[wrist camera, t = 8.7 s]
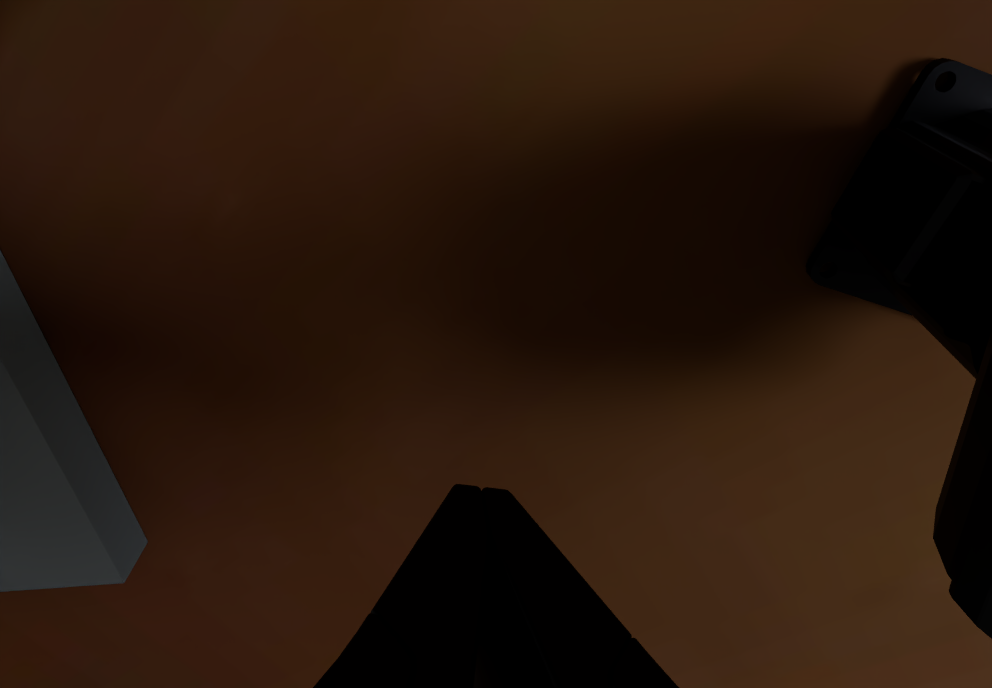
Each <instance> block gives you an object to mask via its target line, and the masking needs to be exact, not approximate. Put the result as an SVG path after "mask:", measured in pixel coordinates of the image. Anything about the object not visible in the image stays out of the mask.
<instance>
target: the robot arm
mask: <svg viewBox="0 0 992 688" xmlns="http://www.w3.org/2000/svg"><path fill="white" fill-rule="evenodd" d="M946 71H947V72H948V79H947V82H946V83H945V84H944V85H943V86H942V87H940V88H938V89H936V87H935V82H936V79H937V78H938V77H939V76H940V74H942V73H944V72H946ZM831 215H832V221H831V222H830V224H829V226H828V227H827V229H826V231H825V232H824V234H823V236H822V237H821V239H820V241H819V242H818V244H817V246H816V247H815V249H814V251H813V252H812V254H811V256H810V257H809V259H808V262H807V264H806V271H807V273H808V275H809V276H810V277H811V279H812V280H813V281H814V282H815V283H817V284H819V285H821V286H824V287H827V288H830V289H833V290H837V291H840V292H843V293H846V294H849V295H852V296H855V297H858V298H861V299H864V300H867V301H870V302H873V303H876V304H880V305H883V306H886V307H889V308H892V309H895V310H898V311H901V312H904V313H907V314H910V315H913V316H914V317H915V318H916V319H917V320H918V321H919V322H920V323H921V324H922V325H923V326H924V327H925V328H926V329H927V330H928V331H929V332H930V333H931V334H932V335H933V336H934V337H935V338H936V339H937V340H938V341H939V342H940V343H941V344H942V345H943V346H944V347H945V348H946V349H947V350H948V351H949V352H950V353H951V354H952V355H953V356H954V357H955V358H956V359H957V360H958V361H959V362H960V363H961V364H962V365H963V366H964V367H965V368H966V369H967V370H968V371H969V372H970V373H971V374H972V375H973V377H974V378H975V379H976V381H975V385H974V388H973V391H972V394H971V398H970V401H969V404H968V407H967V410H966V414H965V417H964V420H963V423H962V426H961V430H960V433H959V436H958V439H957V442H956V446H955V449H954V452H953V455H952V458H951V462H950V465H949V468H948V471H947V474H946V478H945V481H944V484H943V487H942V490H941V494H940V497H939V500H938V503H937V506H936V512H935V523H934V533H933V539H934V542H935V544H936V547H937V549H938V552H939V554H940V557H941V559H942V562H943V564H944V567H945V569H946V572H947V574H948V576H949V577H950V578H951V580H952V581H951V584H950V588H949V593H950V595H951V597H952V598H953V600H954V601H955V602H956V603H957V604H958V605H959V606H960V608H961V609H962V610H963V611H964V612H965V613H966V615H967V616H968V617H969V618H970V619H971V620H972V621H973V623H974V624H975V625H976V626H977V627H978V628H979V629H981V630H982V631H983V632H984V633H985V634H987V635H988V636H989V637H990V638H992V75H991V74H988V73H985V72H983V71H980V70H978V69H975V68H973V67H970V66H967V65H965V64H962V63H960V62H957V61H954V60H951V59H946V58H941V59H937V60H934V61H932V62H931V63H929V64H928V65H926V67H925V68H924V69H923V70H922V71H921V73H920V74H919V76H918V78H917V79H916V81H915V83H914V84H913V86H912V88H911V89H910V91H909V93H908V94H907V96H906V98H905V99H904V101H903V103H902V104H901V106H900V108H899V109H898V111H897V113H896V114H895V116H894V118H893V119H892V121H891V123H890V124H889V126H888V128H886V129H884V130H883V131H881V132H879V134H878V135H877V137H876V138H875V140H874V142H873V144H872V145H871V147H870V149H869V150H868V152H867V154H866V155H865V157H864V159H863V160H862V162H861V164H860V165H859V167H858V169H857V170H856V172H855V174H854V175H853V177H852V179H851V180H850V182H849V184H848V185H847V187H846V189H845V190H844V192H843V194H842V195H841V197H840V199H839V200H838V202H837V204H836V205H835V207H834V209H833V210H832V213H831ZM828 262H832V266H831V268H830V269H829V270H828V271H825V272H819V271H820V268H821V267H822V266H823V265H824V264H825V263H828ZM473 687H474V688H679V687H678V686H677V685H676V684H675V683H674V682H673V680H672V679H671V678H670V677H669V676H668V675H667V674H666V673H665V672H664V670H663V669H662V668H661V667H660V666H659V665H658V664H657V663H656V662H655V660H654V659H653V658H652V657H651V656H650V655H649V654H648V652H647V651H646V650H645V649H644V648H643V647H642V645H641V644H640V643H639V642H638V641H637V639H635V638H632V636H631V634H630V633H629V631H628V630H627V629H626V628H625V627H624V625H623V624H622V623H621V622H620V621H619V620H618V618H617V617H616V616H615V615H614V614H613V613H612V611H611V610H610V609H609V608H608V607H607V605H606V604H605V603H604V602H603V601H602V600H601V598H600V597H599V596H598V595H597V594H596V592H595V591H594V590H593V589H592V588H591V587H590V585H589V584H588V583H587V582H586V581H585V580H584V578H583V577H582V576H581V575H580V574H579V572H578V571H577V570H576V569H575V568H574V567H573V565H572V564H571V563H570V562H569V561H568V560H567V558H566V557H565V556H564V555H563V554H562V552H561V551H560V550H559V549H558V548H557V547H556V545H555V544H554V543H553V542H552V541H551V540H550V538H549V537H548V536H547V535H546V534H545V532H544V531H543V530H542V529H541V528H540V527H539V525H538V524H537V523H536V522H535V521H534V520H533V518H532V517H531V516H530V515H529V514H528V512H527V511H526V510H525V509H524V508H523V507H522V505H521V504H520V503H519V502H518V501H517V500H516V498H515V497H514V496H513V495H512V494H511V493H510V492H509V491H508V490H505V489H496V488H488V487H486V488H483V489H482V491H481V489H480V488H479V487H477V486H471V485H462V484H456V485H454V486H453V487H452V489H451V490H450V492H449V493H448V495H447V496H446V498H445V499H444V501H443V502H442V504H441V505H440V507H439V508H438V510H437V511H436V513H435V515H434V516H433V518H432V519H431V521H430V522H429V524H428V525H427V527H426V528H425V530H424V531H423V533H422V534H421V536H420V537H419V539H418V540H417V542H416V544H415V545H414V547H413V548H412V550H411V551H410V553H409V554H408V556H407V557H406V559H405V560H404V562H403V563H402V565H401V566H400V568H399V569H398V571H397V573H396V574H395V576H394V577H393V579H392V580H391V582H390V583H389V585H388V586H387V588H386V589H385V591H384V592H383V594H382V595H381V597H380V599H379V600H378V602H377V603H376V605H375V606H374V608H373V609H372V611H371V613H370V614H368V616H367V617H366V619H365V620H364V622H363V623H362V625H361V626H360V628H359V629H358V631H357V632H356V634H355V635H354V637H353V638H352V639H351V641H350V642H349V643H348V645H347V646H346V648H345V649H344V650H343V652H342V653H341V655H340V656H339V657H338V659H337V660H336V661H335V662H334V663H333V664H332V666H331V667H330V668H329V669H328V670H327V672H326V673H325V674H324V675H323V676H322V678H321V679H320V680H319V681H318V682H317V683H316V685H315V686H314V687H313V688H473Z"/></svg>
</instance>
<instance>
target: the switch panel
mask: <svg viewBox="0 0 992 688" xmlns="http://www.w3.org/2000/svg"><path fill="white" fill-rule="evenodd" d="M147 542H148V541H147V539H146V537H145V535H144V533H143V531H142V529H141V527H140V525H139V523H138V521H137V519H136V517H135V515H134V513H133V512H132V510H131V508H130V506H129V504H128V502H127V500H126V498H125V496H124V494H123V492H122V490H121V488H120V486H119V484H118V482H117V480H116V478H115V476H114V474H113V472H112V470H111V468H110V466H109V464H108V462H107V460H106V458H105V456H104V454H103V452H102V450H101V448H100V446H99V444H98V442H97V440H96V438H95V436H94V434H93V432H92V430H91V428H90V427H89V425H88V423H87V421H86V419H85V417H84V415H83V413H82V411H81V409H80V407H79V405H78V403H77V401H76V399H75V397H74V395H73V393H72V391H71V389H70V387H69V385H68V383H67V381H66V379H65V377H64V375H63V373H62V371H61V369H60V367H59V365H58V363H57V361H56V359H55V357H54V355H53V353H52V351H51V349H50V347H49V345H48V343H47V341H46V340H45V338H44V336H43V334H42V332H41V330H40V328H39V326H38V324H37V322H36V320H35V318H34V316H33V314H32V312H31V310H30V308H29V306H28V304H27V302H26V300H25V298H24V296H23V294H22V292H21V290H20V288H19V286H18V284H17V282H16V280H15V278H14V276H13V274H12V272H11V270H10V268H9V266H8V264H7V262H6V260H5V258H4V256H3V255H2V253H1V251H0V592H4V591H18V590H32V589H46V588H60V587H74V586H88V585H103V584H117V583H124V582H125V581H126V579H127V577H128V575H129V574H130V572H131V570H132V568H133V567H134V565H135V563H136V561H137V560H138V558H139V556H140V555H141V553H142V551H143V549H144V548H145V546H146V544H147Z"/></svg>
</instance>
